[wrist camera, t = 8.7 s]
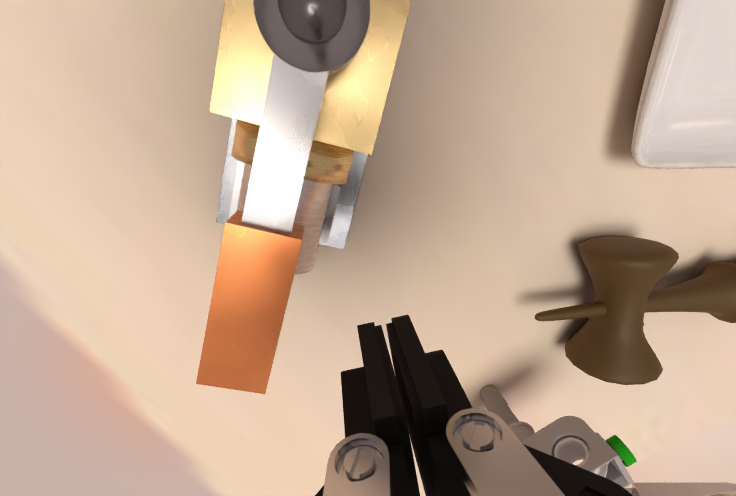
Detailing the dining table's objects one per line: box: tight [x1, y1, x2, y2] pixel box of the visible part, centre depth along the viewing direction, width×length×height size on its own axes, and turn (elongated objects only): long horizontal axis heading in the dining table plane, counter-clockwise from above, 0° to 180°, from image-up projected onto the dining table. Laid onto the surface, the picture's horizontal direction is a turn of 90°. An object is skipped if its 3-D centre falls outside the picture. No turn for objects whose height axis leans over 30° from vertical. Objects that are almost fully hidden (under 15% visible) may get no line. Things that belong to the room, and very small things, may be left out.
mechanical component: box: [480, 385, 637, 488], centre depth 27 cm, size 3×10×10 cm, turn 124°
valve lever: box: [196, 0, 370, 394], centre depth 12 cm, size 14×3×2 cm, turn 164°
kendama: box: [535, 236, 736, 385], centre depth 27 cm, size 6×10×20 cm
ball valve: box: [209, 0, 412, 275], centre depth 17 cm, size 20×8×11 cm, turn 165°
